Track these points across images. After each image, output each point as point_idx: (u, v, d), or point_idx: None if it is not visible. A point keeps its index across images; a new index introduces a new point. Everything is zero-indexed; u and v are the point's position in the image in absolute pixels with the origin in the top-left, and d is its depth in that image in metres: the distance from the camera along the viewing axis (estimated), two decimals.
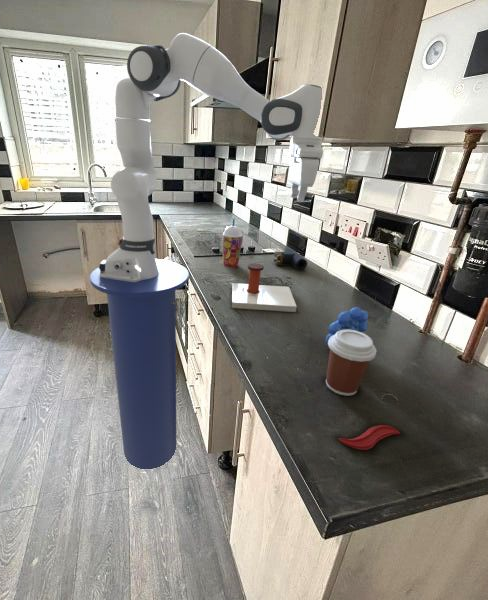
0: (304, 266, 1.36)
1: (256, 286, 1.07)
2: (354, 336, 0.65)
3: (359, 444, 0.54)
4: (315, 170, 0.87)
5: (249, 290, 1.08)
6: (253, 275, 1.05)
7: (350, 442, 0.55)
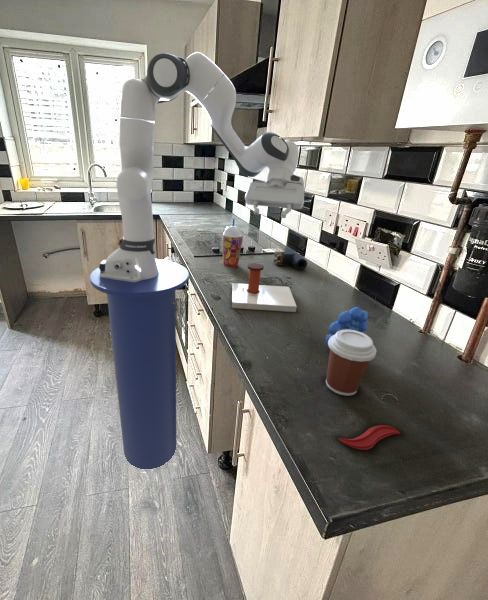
0: (304, 266, 1.36)
1: (256, 286, 1.07)
2: (354, 336, 0.65)
3: (359, 444, 0.54)
4: None
5: (249, 290, 1.08)
6: (253, 275, 1.05)
7: (350, 442, 0.55)
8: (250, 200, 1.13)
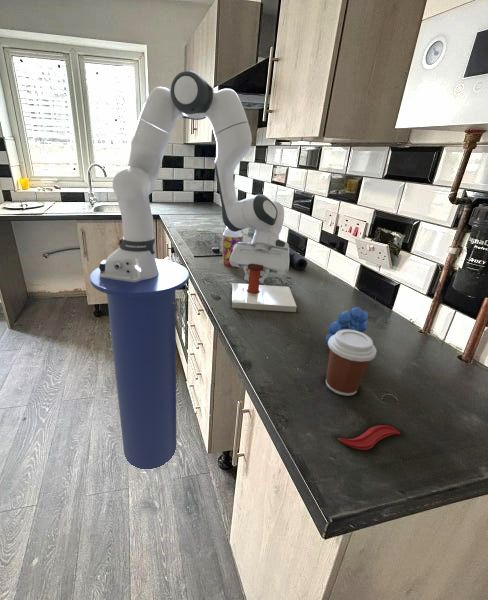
0: (304, 266, 1.36)
1: (256, 286, 1.07)
2: (354, 336, 0.65)
3: (359, 444, 0.54)
4: None
5: (249, 290, 1.08)
6: (253, 275, 1.05)
7: (350, 442, 0.55)
8: (234, 263, 1.10)
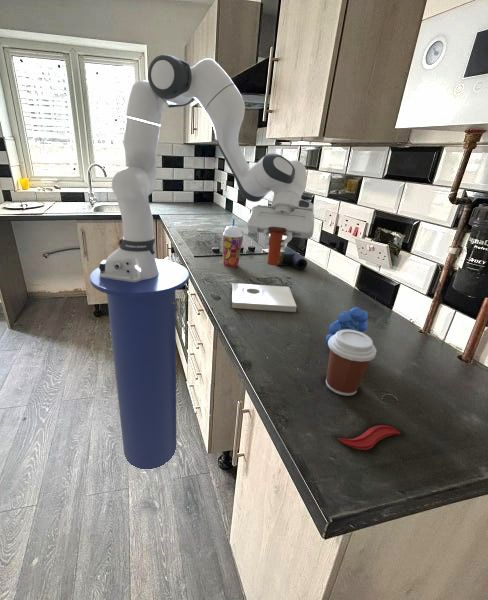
0: (304, 266, 1.36)
1: (277, 251, 0.97)
2: (354, 336, 0.65)
3: (359, 444, 0.54)
4: None
5: (269, 256, 0.98)
6: (274, 238, 0.95)
7: (350, 442, 0.55)
8: (253, 227, 1.00)
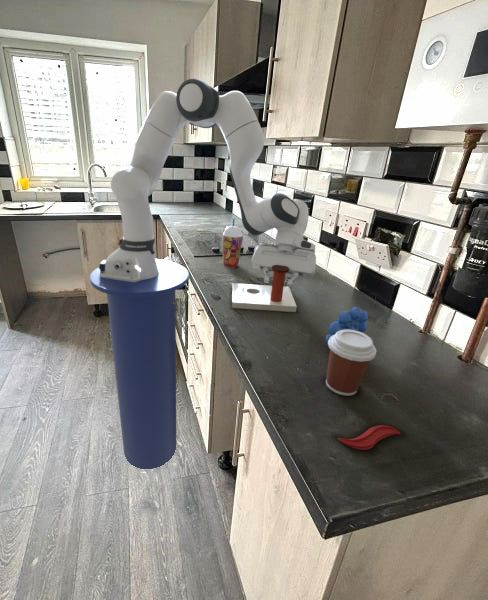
0: None
1: (280, 289, 1.00)
2: (354, 336, 0.65)
3: (359, 444, 0.54)
4: None
5: (273, 293, 1.01)
6: (277, 277, 0.98)
7: (350, 442, 0.55)
8: (256, 265, 1.03)
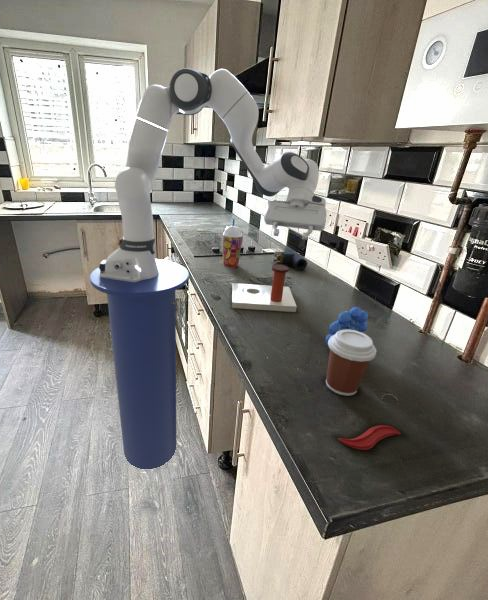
0: (304, 266, 1.36)
1: (280, 289, 1.00)
2: (354, 336, 0.65)
3: (359, 444, 0.54)
4: None
5: (273, 293, 1.01)
6: (277, 277, 0.98)
7: (350, 442, 0.55)
8: (269, 220, 1.09)
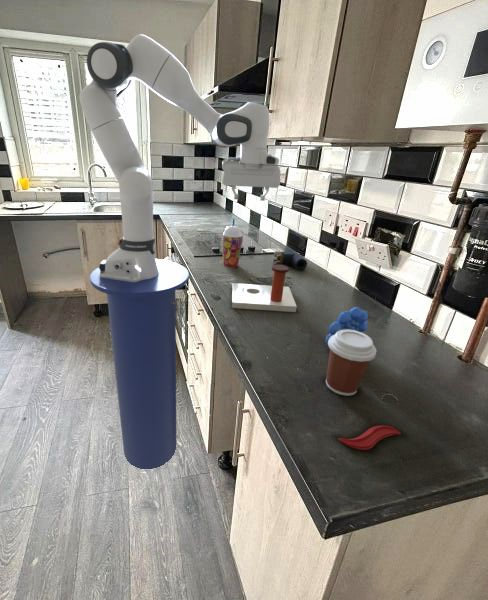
0: (304, 266, 1.36)
1: (280, 289, 1.00)
2: (354, 336, 0.65)
3: (359, 444, 0.54)
4: None
5: (273, 293, 1.01)
6: (277, 277, 0.98)
7: (350, 442, 0.55)
8: (228, 185, 1.13)
